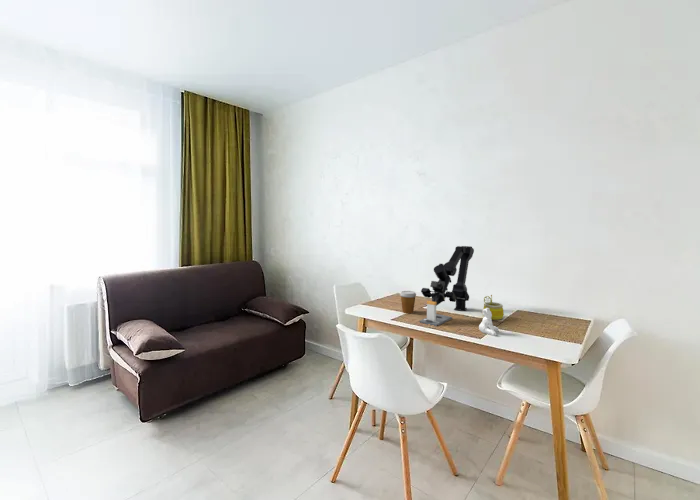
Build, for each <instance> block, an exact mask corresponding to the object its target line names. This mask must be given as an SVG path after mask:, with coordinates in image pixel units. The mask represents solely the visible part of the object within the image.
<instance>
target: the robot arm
mask: <svg viewBox="0 0 700 500" xmlns="http://www.w3.org/2000/svg"><path fill="white" fill-rule="evenodd" d="M474 252H475V248H473V246H470V245H469V246H468V245H467V246H466V245H461V246H460V245H456V246H455V249H454V252H453V253H452V255H451V257H450V259H449V260H448V261H447V262H445V263H439V264H438V265H437V264H436V266H435V267H434V268H433V272H434V274H435V277H437V279H438V281H435V280H431V283H430V288H432V290H430V288H429V287H422V288H421V290H420V292H421V294H422V295H423V297H424V298H427V299H429V298H430V299H431V301H433V302H437V304H436V307H437V306H439V305H440V304H441V303H443V302H445V301H446V298H448V300H449V301H450V302H453V303H455V307H454V309H453V310H454V311H462V312H463V311H464V312H466V310H467V308H468V307H466V302H467V301H470V295H469V293H468V287H467V285H466V281H467V274H468V268H469V261H470V260H471V259H472V258H473V255H474ZM458 264H459V266H458ZM457 266H458V267H459V268H458V269H457ZM457 270H458V274H457V279H456V283H455V284H453V285H452V290H451V291H448V287H449V285H450V283H452V279H451V277H454V276H455V275H456V273H457ZM450 276H451V277H450Z"/></svg>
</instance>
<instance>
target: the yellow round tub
mask: <svg viewBox="0 0 700 500" xmlns="http://www.w3.org/2000/svg"><path fill="white" fill-rule="evenodd" d="M483 302H484V303H483V308H482V310H483V309H486V308H489V310H490V311H491V314H492V317H491V320H492V321H498V320H502V319H503V318H504V315H505V313H504V306H503V304H502V303H500V302H494V301H493V294H491V295H490V296H489V295H485V296H484V298H483ZM482 316H483V317H484V315H483V314H482Z"/></svg>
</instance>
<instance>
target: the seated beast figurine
mask: <svg viewBox="0 0 700 500" xmlns="http://www.w3.org/2000/svg"><path fill="white" fill-rule="evenodd" d="M481 312H482V316H483V315H484V316H483V318H482V321H481V322H480V324H479V325H478V329H479V331H480V332H481V333H483V334H485V335H489V336H492V337H496V335H497V332H499V330H500V329H499V327H498V326H495V325H493V320H491V317H492V314H491V311H490V310H489V308H486V309H483V308H482V311H481Z"/></svg>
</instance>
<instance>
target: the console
mask: <svg viewBox="0 0 700 500" xmlns="http://www.w3.org/2000/svg"><path fill="white" fill-rule="evenodd" d="M451 320H453V317H452V316H449V315H443V314H438V313H436V321H435V322H433V321H432V320H427V317H425V318H422V319H420V320H419V322H420V323H419V324H424V323H425V324H424V325H428V324H430V325H429V326H432V325H434V326H433V327H438V326H440V325H443V324H444V323H446V322H449V321H451ZM437 325H438V326H437Z"/></svg>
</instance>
